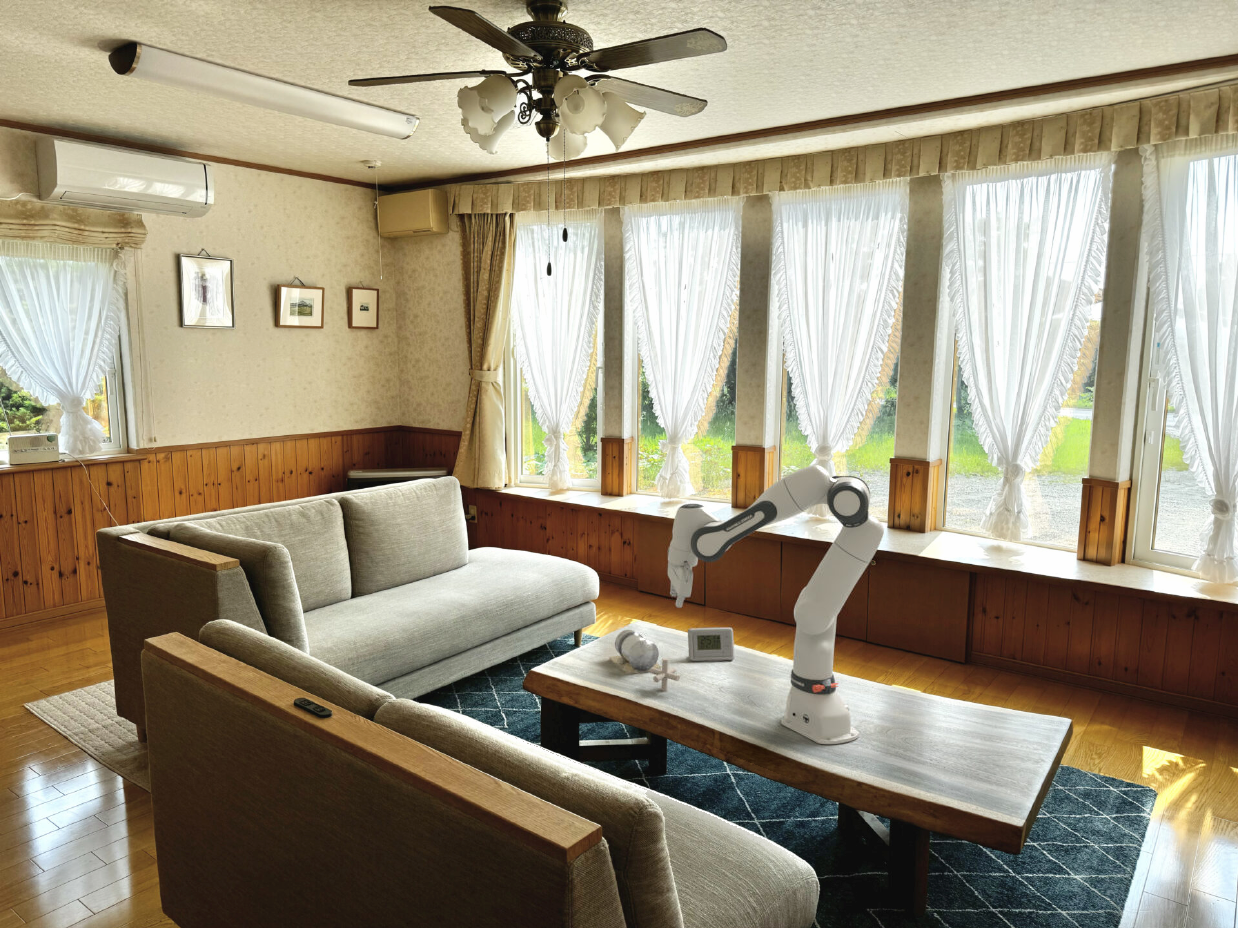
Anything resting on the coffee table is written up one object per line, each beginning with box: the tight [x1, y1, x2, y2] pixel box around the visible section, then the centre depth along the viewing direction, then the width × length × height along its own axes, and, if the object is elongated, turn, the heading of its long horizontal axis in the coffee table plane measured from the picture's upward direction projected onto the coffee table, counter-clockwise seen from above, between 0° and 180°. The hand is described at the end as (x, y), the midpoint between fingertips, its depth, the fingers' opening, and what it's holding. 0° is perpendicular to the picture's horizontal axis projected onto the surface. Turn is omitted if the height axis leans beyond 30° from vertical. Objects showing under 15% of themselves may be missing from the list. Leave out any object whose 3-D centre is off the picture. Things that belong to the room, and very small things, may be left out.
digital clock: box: [687, 626, 735, 663], centre depth 288 cm, size 16×9×11 cm, turn 87°
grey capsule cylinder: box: [608, 629, 662, 676], centre depth 280 cm, size 14×13×11 cm
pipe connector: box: [649, 657, 681, 692], centre depth 260 cm, size 10×10×10 cm
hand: (675, 600), depth 250 cm, fingers open, 8 cm apart
